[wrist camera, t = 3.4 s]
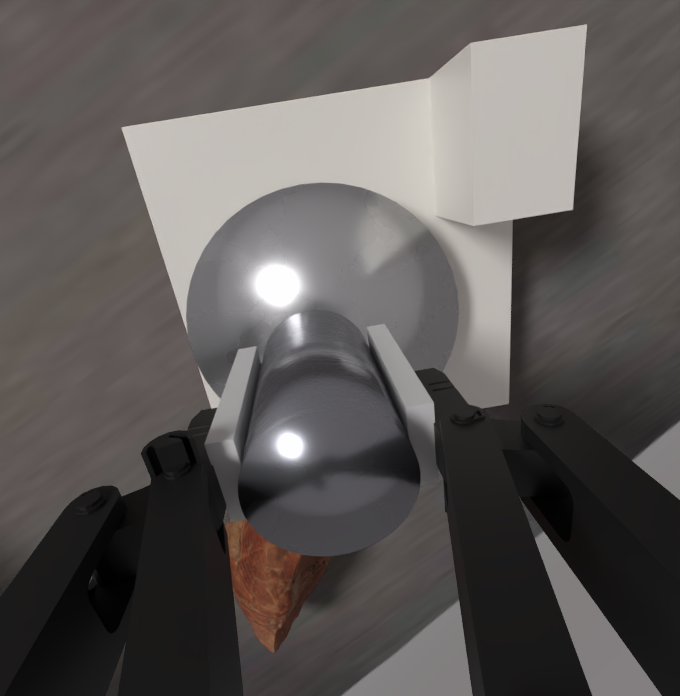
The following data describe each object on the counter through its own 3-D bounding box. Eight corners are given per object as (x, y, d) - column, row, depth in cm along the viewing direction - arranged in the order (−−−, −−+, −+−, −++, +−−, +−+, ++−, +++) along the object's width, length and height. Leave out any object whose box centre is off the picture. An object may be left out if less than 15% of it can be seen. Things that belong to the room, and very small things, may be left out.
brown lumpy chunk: (275, 465, 25) (298, 663, 20) (367, 470, 30) (404, 627, 25) (185, 521, 32) (185, 678, 27) (273, 517, 37) (287, 647, 32)
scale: (233, 425, 28) (207, 513, 20) (146, 134, 21) (57, 108, 13) (495, 380, 28) (562, 452, 21) (496, 78, 21) (599, 22, 14)
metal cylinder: (275, 414, 18) (260, 570, 11) (252, 320, 16) (215, 429, 9) (374, 396, 18) (426, 538, 11) (361, 301, 17) (413, 393, 9)
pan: (231, 444, 25) (226, 459, 23) (158, 207, 19) (146, 209, 18) (454, 406, 25) (462, 419, 24) (443, 161, 19) (453, 159, 18)
